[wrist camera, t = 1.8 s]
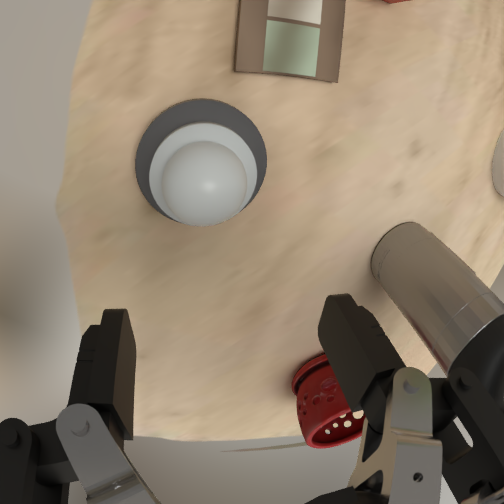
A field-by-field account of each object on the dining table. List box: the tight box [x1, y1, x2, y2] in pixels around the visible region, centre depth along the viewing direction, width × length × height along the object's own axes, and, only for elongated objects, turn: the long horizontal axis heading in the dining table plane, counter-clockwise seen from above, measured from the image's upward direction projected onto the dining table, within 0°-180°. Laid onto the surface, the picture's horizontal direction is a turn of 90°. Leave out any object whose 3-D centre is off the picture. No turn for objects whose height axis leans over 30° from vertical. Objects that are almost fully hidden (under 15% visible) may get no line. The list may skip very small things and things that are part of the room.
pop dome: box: [149, 121, 257, 226], centre depth 22 cm, size 8×8×6 cm
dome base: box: [135, 99, 267, 223], centre depth 26 cm, size 11×11×2 cm
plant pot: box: [292, 354, 366, 448], centre depth 43 cm, size 13×13×12 cm
